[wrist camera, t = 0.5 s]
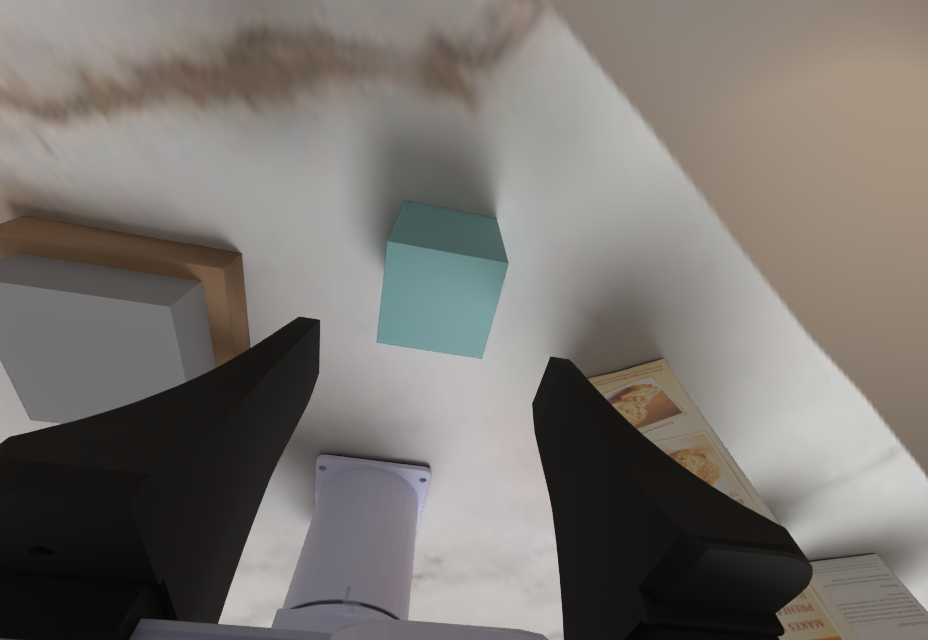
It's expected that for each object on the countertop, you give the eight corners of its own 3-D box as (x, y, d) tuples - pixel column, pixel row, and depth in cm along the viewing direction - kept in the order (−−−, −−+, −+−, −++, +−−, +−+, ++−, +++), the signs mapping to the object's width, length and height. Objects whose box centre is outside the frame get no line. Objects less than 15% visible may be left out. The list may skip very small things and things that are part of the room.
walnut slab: (258, 392, 26) (241, 421, 24) (91, 370, 25) (56, 397, 23) (246, 249, 21) (222, 269, 19) (34, 212, 20) (-16, 229, 18)
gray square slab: (222, 405, 23) (198, 439, 21) (71, 387, 22) (30, 420, 20) (202, 281, 19) (169, 306, 17) (17, 252, 18) (-42, 276, 16)
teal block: (477, 298, 22) (481, 358, 17) (394, 283, 22) (376, 342, 17) (496, 218, 20) (508, 263, 15) (404, 200, 19) (387, 241, 15)
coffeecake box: (550, 386, 25) (726, 989, 9) (666, 353, 24) (1132, 981, 7) (593, 519, 33) (734, 984, 16) (685, 500, 31) (939, 979, 15)
